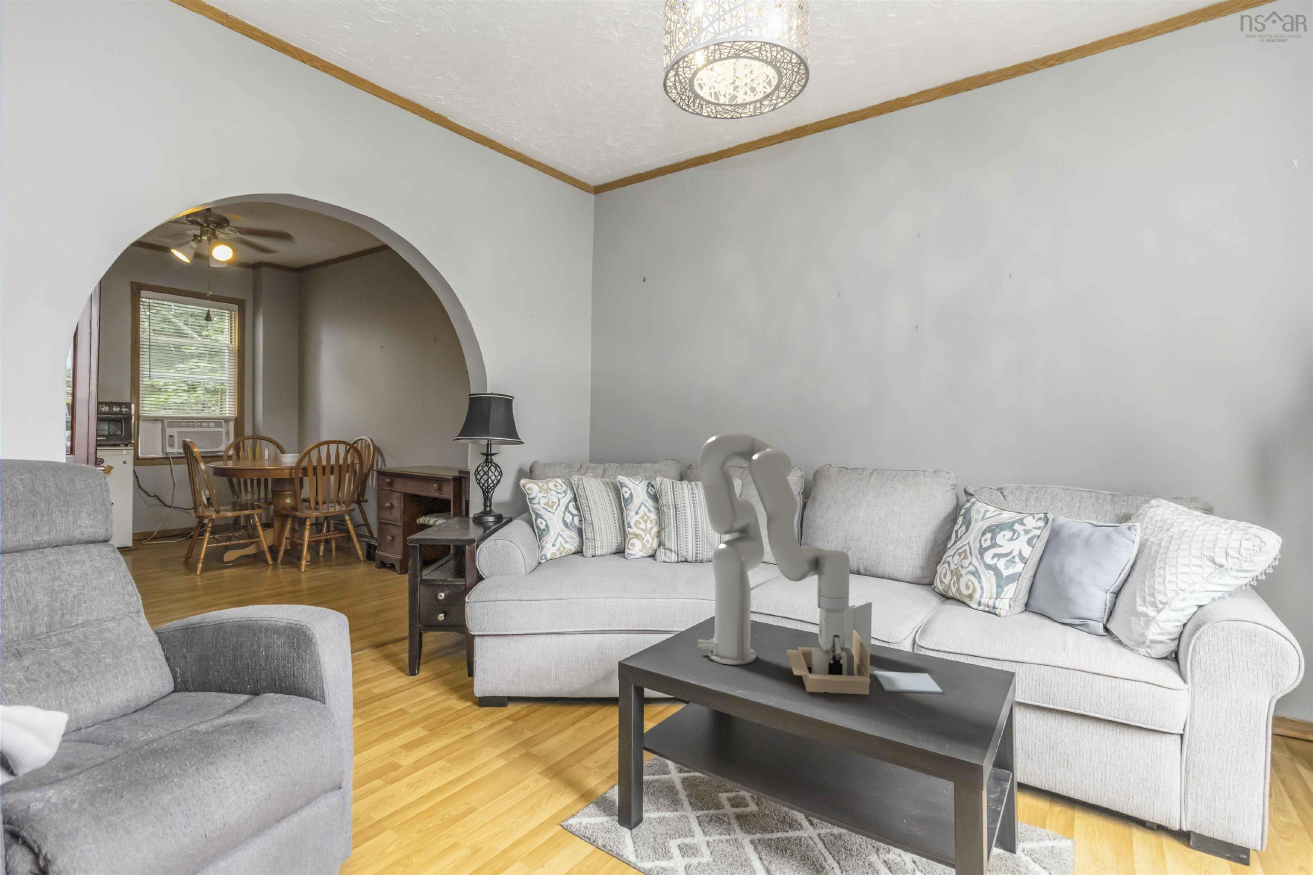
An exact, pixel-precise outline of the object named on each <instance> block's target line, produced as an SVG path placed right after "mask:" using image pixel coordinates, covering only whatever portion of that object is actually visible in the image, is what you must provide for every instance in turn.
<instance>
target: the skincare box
mask: <svg viewBox="0 0 1313 875" xmlns="http://www.w3.org/2000/svg"><path fill="white" fill-rule="evenodd" d="M872 606H873V603H872V601H869V600H867V599H863V598H862V599H861V598H858V597H855V596H853V597H851V598H849V610H847V611H844V612H845V647H844V648H850V649H852V651H853V630H855V631H856V632H857V634H858V635H859V637H860V638H861V640H862V641H863V643H864V644H865V646H866V647H867V649H868V650H869V651H870V655H871V654H872V618H873V617H872V615H873V614H872V612H873V609H872V608H873V607H872Z"/></svg>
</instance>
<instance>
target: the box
mask: <svg viewBox="0 0 1313 875" xmlns="http://www.w3.org/2000/svg"><path fill="white" fill-rule="evenodd" d="M811 648H812V668H811V674H822V675H828V662H830V658H829V651H827V652H825V651H824V650H823V649H822V647H811ZM831 650H835V648H831ZM841 653H842V675H846V676H855V673H854V654H853V653H852V651H851V649H850V648H844V651H843V652H841ZM833 655H835V653H832V658H833Z"/></svg>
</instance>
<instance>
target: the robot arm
mask: <svg viewBox="0 0 1313 875" xmlns="http://www.w3.org/2000/svg"><path fill="white" fill-rule="evenodd" d="M792 464H793V463H792V460H791V459H790V457H789V455H788V454H787V453H786V452H784V451H783V450H781V449H779V448H777V447H775V446H774V445H771V444H768V443H766V442H765V441H762V440H760V439H759V438H756V437H755V436H752V435H750V434H747V433H743V432H742V433H739V432H738V433H737V432H736V433H734V432H733V433H731V432H730V433H729V432H728V433H725V432H724V433H719V434H716V435H714V436H711V437H710V438H709V439H708V440H706V441H705V443H704V444H703V445H702V446H701V448H700V450H699V452H698V457H697V468H698V473H699V476H700V481H701V486H702V489H703V490H702V491H703V495H704V500H705V505H706V511H707V515H708V520H709V525H710V527H711V529H712V530H713V531H714V533H716V534H718V535H722V536H724V535H729V538H730V539H727V540H724V541H722V542H720V543H719V544H718V545H717V546H716V547H715V549H714V551H713V553H712V558H711V561H712V562H711V563H712V571H713V578H714V635H713V638H709V639H708V640H707V639H697V648H701V650H708V657H709V658H710V659H711V660H712V661H714V662H716V663H719V664H724V665H733V666H734V665H735V666H737V665H738V666H739V665H747V664H749V663H752V662H754V661H755V660H756V658H757V657H756V656H757V653H756V652H755V651H754V650H753V649H752V648H751V608H752V606H751V604H752V601H751V598H752V597H751V595H752V594H751V583H750V579H749V574H748V571H750V570H754V569H755V568H758V567H759V566H760V565H761V564H762V562H763V559H764V557H765V547H764V542H763V535H762V531H761V526H760V522H759V518H758V513H757V511H756V508H755V506H754V504H753V503H752V502H751V501H749V499H747V498H745V497H742V496H737V492H736V487H735V481H734V479H733V477H732V475H731V473H730V471H729V466H731V465H743V466H745V467H747V468H748V472H749V475H750V477H751V480H752V483H753V485H754V487H755V489H756V492H757V495H758V497H759V500H760V502H761V505H762V507H763V510H764V513H765V514H766V531H767V540H768V545H769V548H770V551H771V554H772V557H773V560H774V561H775V563H776V566H777V568H778V571H779V572H780V573H781V574H782V576H783V577H784V578H785V579H787V580H788V581H790V582H796V583H797V582H802V581H804V580H807V579H808V578H811V577H814V576H817V588H816V589H817V593H816V594H817V596H816V597H817V600H816V601H817V602H816V604H817V606H816V608H817V609H819V619H818V636H817V639H818V642H819V645H820V648H822V649H823V650H824V651H825V652H827V651H829V658H830V662H828V675H842V653H841V652H843V651H844V647H845V612H844V611H847V610H849V599H850V564H851V562H850V555H848V553H847V552H845V551H841V550H834V549H823V548H819V547H815V546H813V545H803V546H802V545H801V546H800V544H799V541H798V537H797V535H796V530H795V519H796V515H797V512H798V507H799V506H798V505H799V503H798V500H797V498H796V495H795V493H794V490H793V489H792V486H791V484H790V482H789V479H788V477H789V476H790V474H791V472H792V469H793V465H792ZM831 648H835V650H831ZM832 653H835V655H833V658H832Z"/></svg>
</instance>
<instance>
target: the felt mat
mask: <svg viewBox="0 0 1313 875" xmlns="http://www.w3.org/2000/svg"><path fill="white" fill-rule="evenodd" d="M873 673H875V674H874V675H875V677H876V679H877V680H878V682H879V683H880V684H881V686H882V688H883V689H884V690H885V691H886V692H900V693H901V692H902V693H904V692H905V693H922V694H923V693H924V694H925V693H926V694H927V693H928V694H943V690H942V689H941V688H940V686H939V685H938V684H937V682H935V680H934V679H933V678H932V677H931V675H929V674H928V673H924V672H923V673H922V672H905V671H904V672H899V671H877V670H876V671H875V670H874V671H873Z"/></svg>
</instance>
